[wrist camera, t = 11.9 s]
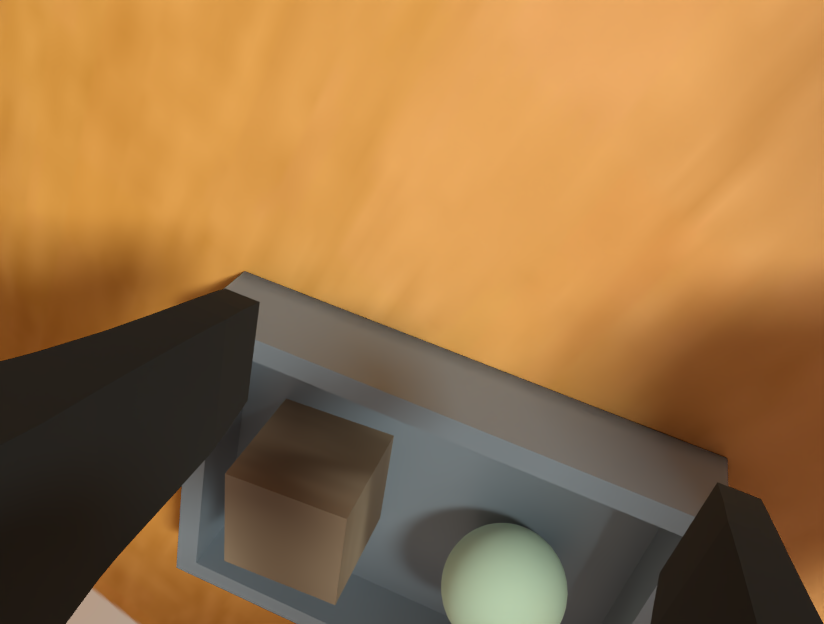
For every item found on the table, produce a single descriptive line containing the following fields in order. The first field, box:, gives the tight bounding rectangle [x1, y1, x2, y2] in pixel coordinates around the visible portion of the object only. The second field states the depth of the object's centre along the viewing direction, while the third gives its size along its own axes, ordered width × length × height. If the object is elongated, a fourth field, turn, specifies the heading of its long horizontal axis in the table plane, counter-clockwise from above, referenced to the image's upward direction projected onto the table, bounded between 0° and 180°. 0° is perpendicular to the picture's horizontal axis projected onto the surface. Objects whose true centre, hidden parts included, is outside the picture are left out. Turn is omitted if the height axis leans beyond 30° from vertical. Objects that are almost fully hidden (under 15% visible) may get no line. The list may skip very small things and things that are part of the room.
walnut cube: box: [224, 399, 394, 605], centre depth 25 cm, size 4×4×4 cm
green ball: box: [441, 523, 568, 624], centre depth 24 cm, size 4×4×4 cm
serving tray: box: [176, 271, 728, 624], centre depth 25 cm, size 16×12×3 cm
